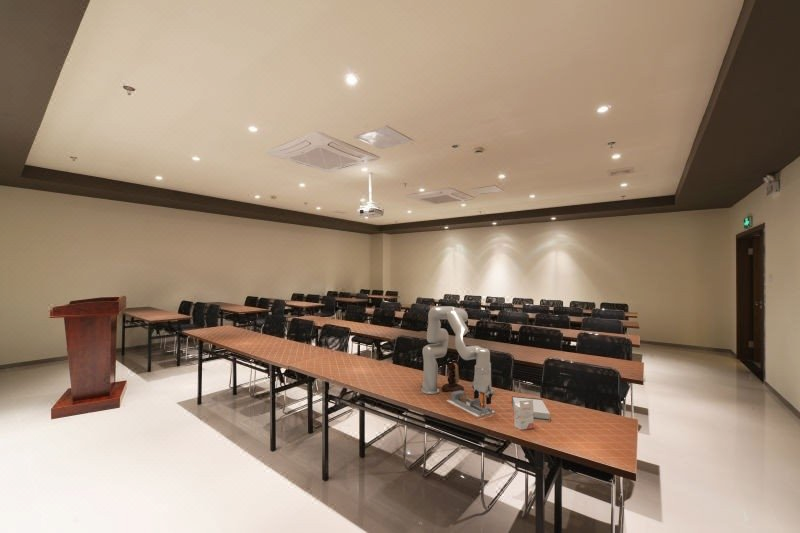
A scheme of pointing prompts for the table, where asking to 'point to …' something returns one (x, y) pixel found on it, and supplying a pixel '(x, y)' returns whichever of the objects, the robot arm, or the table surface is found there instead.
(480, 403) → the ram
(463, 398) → the nut
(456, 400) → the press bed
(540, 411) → the disc drive
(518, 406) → the ink cartridge box
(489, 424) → the table surface
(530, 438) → the table surface
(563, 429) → the table surface
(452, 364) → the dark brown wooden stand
